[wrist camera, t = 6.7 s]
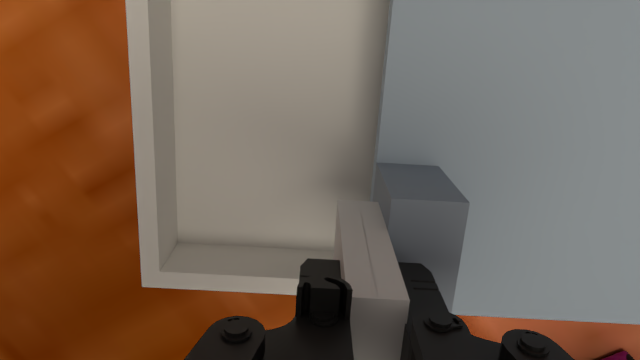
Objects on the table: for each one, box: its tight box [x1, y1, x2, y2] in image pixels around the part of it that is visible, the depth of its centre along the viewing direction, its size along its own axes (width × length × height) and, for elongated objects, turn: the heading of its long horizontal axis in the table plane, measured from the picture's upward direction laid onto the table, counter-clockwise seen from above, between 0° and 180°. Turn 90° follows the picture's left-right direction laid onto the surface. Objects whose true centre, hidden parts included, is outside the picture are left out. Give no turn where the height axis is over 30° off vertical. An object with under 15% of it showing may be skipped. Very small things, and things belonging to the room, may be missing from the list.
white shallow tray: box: [125, 0, 390, 295], centre depth 20 cm, size 22×17×4 cm
